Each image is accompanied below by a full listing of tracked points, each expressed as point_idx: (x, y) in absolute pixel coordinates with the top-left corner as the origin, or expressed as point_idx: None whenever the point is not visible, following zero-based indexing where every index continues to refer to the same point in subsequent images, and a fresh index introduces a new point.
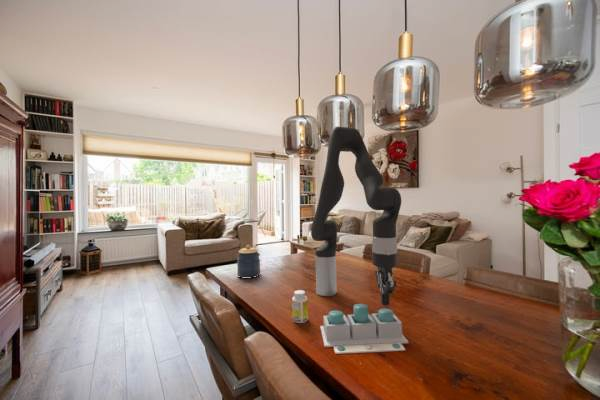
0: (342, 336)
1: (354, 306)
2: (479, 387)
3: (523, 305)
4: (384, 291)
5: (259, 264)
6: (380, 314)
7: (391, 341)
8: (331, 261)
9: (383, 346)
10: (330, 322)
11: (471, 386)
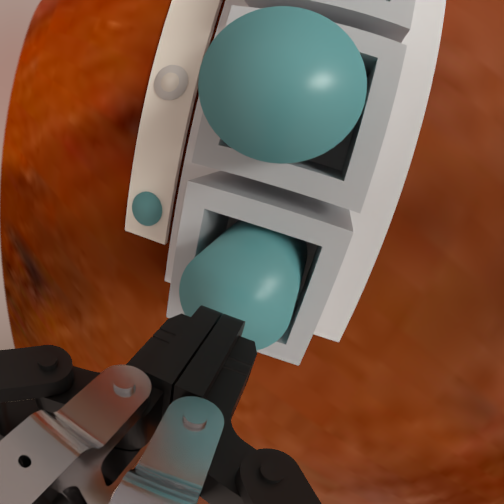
0: None
1: (309, 20)
2: (12, 278)
3: None
4: (35, 366)
5: None
6: (224, 243)
7: (181, 213)
8: None
9: (159, 152)
10: None
11: (13, 266)
